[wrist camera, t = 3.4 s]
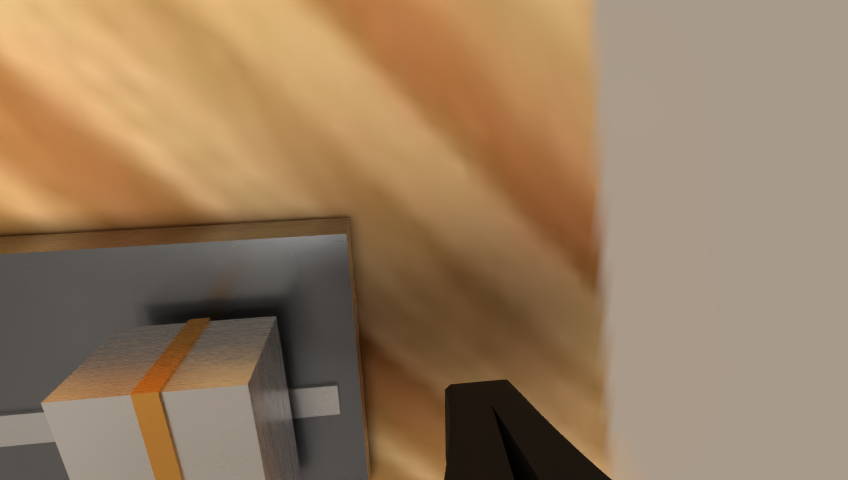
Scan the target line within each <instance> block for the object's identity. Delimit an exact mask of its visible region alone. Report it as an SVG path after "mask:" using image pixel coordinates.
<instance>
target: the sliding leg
mask: <svg viewBox="0 0 848 480" xmlns="http://www.w3.org/2000/svg"><path fill="white" fill-rule="evenodd" d="M41 405H42V408H43V410H44V413H45V416H46V418H47V421H48V424H49V426H50V429H51V431H52V434H53V437H54V439H55V442H56V445H57V447H58V450H59V453H60V455H61V458H62V460H63V463H64V466H65V468H66V471H67V474H68V476H69V479H70V480H301V473H300V467H299V460H298V454H297V447H296V441H295V434H294V428H293V421H292V415H291V408H290V402H289V395H288V389H287V382H286V376H285V369H284V363H283V356H282V350H281V343H280V337H279V330H278V324H277V317H276V316H271V317H257V318H244V319H231V320H218V321H211V320H210V318H199V319H189V320H188V321H187V323H178V324H164V325H151V326H138V327H125V328H119V329H118V330H117V331H116V332H115V333H114V334H113V335H112V336H111V337H110V338H108V339H107V340H106V341H105V342H104V343H103V344H102V345H101V346H100V347H99V348H98V349H97V350H96V351H95V352H94V353H93V354H92V355H91V356H90V357H89V358H88V359H86V360H85V361H84V362H83V363H82V364H81V365H80V366H79V367H78V368H77V369H76V370H75V371H74V372H73V373H72V374H71V375H70V376H69V377H68V378H67V379H65V380H64V381H63V382H62V383H61V384H60V385H59V386H58V387H57V388H56V389H55V390H54V391H53V392H52V393H51V394H50V395H49V396H48V397H47V398H46V399H45V400H43V401H42V402H41Z"/></svg>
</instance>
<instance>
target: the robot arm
mask: <svg viewBox="0 0 848 480" xmlns="http://www.w3.org/2000/svg"><path fill="white" fill-rule="evenodd" d="M445 429H446V462H447V465H446V472H445V478H444V480H611V479H610V478H609V477H608V476H607V475H606V474H604V473H603V472H602V471H601V470H600V469H599V468H597V467H596V466H595V465H594V464H593V463H592V462H591V461H590V460H588V459H587V458H586V457H585V456H584V455H583V454H582V453H581V452H580V451H579V450H578V449H576V448H575V447H574V446H573V445H572V444H571V443H570V442H569V441H568V440H567V439H566V438H565V437H564V436H563V435H562V434H560V433H559V432H558V431H557V430H556V429H555V428H554V427H553V426H552V425H551V424H550V423H549V422H548V421H547V420H546V419H545V418H544V417H543V416H542V415H541V414H540V413H539V412H538V411H537V410H536V409H535V408H534V407H533V406H532V405H531V404H530V403H529V402H528V401H527V399H526V398H525V397H524V396H523V395H522V394H521V393H520V392H519V391H518V390H517V389H516V388H515V387H514V386H513V385H512V384H511V383H510V382H509V381H508V380H507V379H506V380H495V381H484V382H473V383H462V384H451V385H449V386H448V387H447V388H446V389H445Z"/></svg>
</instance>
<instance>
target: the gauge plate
mask: <svg viewBox="0 0 848 480" xmlns="http://www.w3.org/2000/svg"><path fill="white" fill-rule="evenodd" d="M271 316H276V317H277V324H278V330H279V337H280V343H281V350H282V356H283V363H284V369H285V376H286V382H287V389H288V395H289V402H290V408H291V415H292V421H293V428H294V434H295V441H296V447H297V454H298V460H299V467H300V473H301V480H372V479H371V467H370V455H369V444H368V432H367V420H366V409H365V397H364V385H363V374H362V362H361V350H360V339H359V327H358V315H357V303H356V292H355V280H354V268H353V257H352V245H351V233H350V222H349V218H332V219H314V220H296V221H278V222H260V223H242V224H224V225H206V226H188V227H170V228H152V229H134V230H116V231H98V232H81V233H63V234H45V235H27V236H9V237H0V480H70V479H69V476H68V474H67V471H66V468H65V466H64V463H63V460H62V458H61V455H60V453H59V450H58V447H57V445H56V442H55V439H54V437H53V434H52V431H51V429H50V426H49V424H48V421H47V418H46V416H45V413H44V410H43V408H42V405H41V402H42V401H43V400H45V399H46V398H47V397H48V396H49V395H50V394H51V393H52V392H53V391H54V390H55V389H56V388H57V387H58V386H59V385H60V384H61V383H62V382H63V381H64V380H65V379H67V378H68V377H69V376H70V375H71V374H72V373H73V372H74V371H75V370H76V369H77V368H78V367H79V366H80V365H81V364H82V363H83V362H84V361H85V360H86V359H88V358H89V357H90V356H91V355H92V354H93V353H94V352H95V351H96V350H97V349H98V348H99V347H100V346H101V345H102V344H103V343H104V342H105V341H106V340H107V339H108V338H110V337H111V336H112V335H113V334H114V333H115V332H116V331H117V330H118V329H119V328H125V327H138V326H151V325H164V324H178V323H187V321H188V320H189V319H199V318H210V320H211V321H218V320H231V319H244V318H257V317H271Z"/></svg>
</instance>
